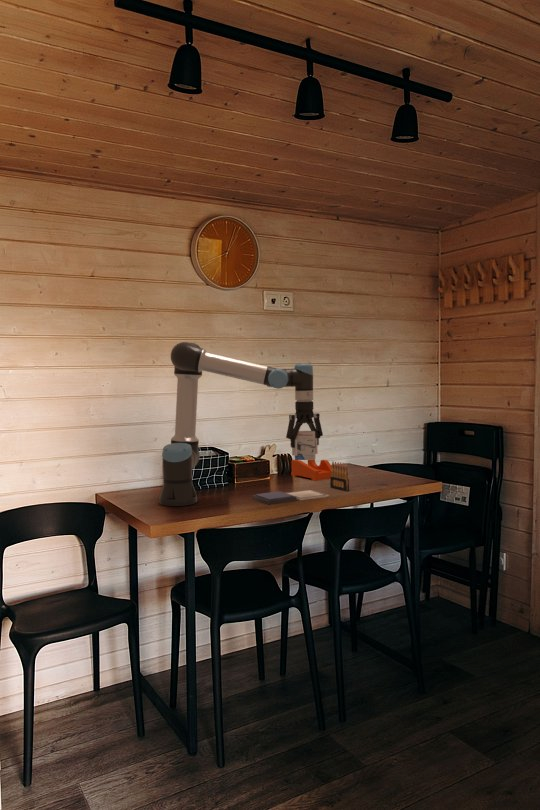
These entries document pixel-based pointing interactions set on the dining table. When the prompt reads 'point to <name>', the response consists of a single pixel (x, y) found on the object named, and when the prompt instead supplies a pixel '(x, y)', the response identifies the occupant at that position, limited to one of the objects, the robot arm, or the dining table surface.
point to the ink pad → (274, 497)
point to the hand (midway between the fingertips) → (304, 454)
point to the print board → (307, 494)
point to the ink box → (305, 445)
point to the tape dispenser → (312, 469)
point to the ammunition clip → (339, 477)
